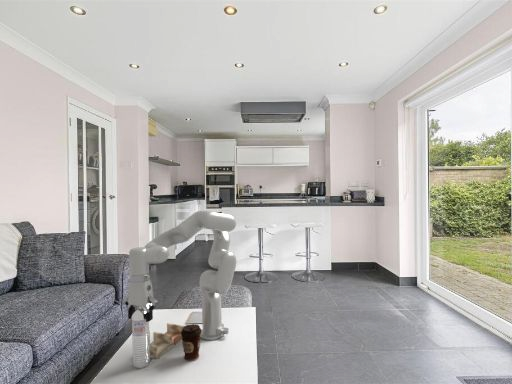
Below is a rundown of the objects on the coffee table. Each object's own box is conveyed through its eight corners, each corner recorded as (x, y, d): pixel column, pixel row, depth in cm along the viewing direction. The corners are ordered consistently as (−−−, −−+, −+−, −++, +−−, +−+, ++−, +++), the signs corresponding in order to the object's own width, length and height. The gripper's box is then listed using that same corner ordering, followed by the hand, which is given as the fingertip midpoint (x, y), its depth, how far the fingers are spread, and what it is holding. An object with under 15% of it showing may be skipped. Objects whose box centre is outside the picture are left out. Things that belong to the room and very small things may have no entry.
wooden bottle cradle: (186, 336, 142) (185, 326, 142) (157, 359, 123) (157, 347, 123) (168, 333, 146) (167, 323, 146) (138, 354, 127) (137, 342, 127)
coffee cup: (191, 365, 118) (190, 333, 118) (177, 360, 122) (176, 329, 122) (205, 355, 125) (205, 325, 125) (191, 350, 129) (191, 321, 129)
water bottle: (154, 361, 122) (152, 301, 122) (142, 370, 115) (141, 308, 115) (140, 358, 124) (139, 300, 124) (129, 367, 117) (127, 306, 118)
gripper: (162, 276, 120) (163, 318, 120) (130, 273, 126) (131, 312, 126) (149, 282, 113) (150, 326, 113) (116, 278, 119) (117, 320, 119)
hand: (140, 318), depth 120 cm, fingers open, 9 cm apart
